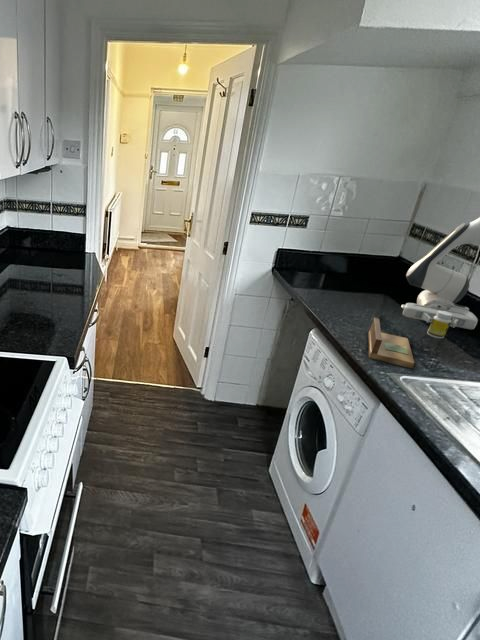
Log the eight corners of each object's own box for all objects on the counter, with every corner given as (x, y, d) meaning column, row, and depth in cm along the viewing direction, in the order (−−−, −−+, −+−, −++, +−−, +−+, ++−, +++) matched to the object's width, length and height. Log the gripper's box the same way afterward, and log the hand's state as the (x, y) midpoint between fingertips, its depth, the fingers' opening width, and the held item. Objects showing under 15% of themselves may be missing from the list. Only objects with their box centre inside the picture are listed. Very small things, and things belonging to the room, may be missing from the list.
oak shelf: (405, 343, 149) (412, 325, 146) (412, 368, 131) (420, 349, 129) (367, 334, 154) (373, 317, 152) (368, 357, 137) (375, 339, 134)
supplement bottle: (444, 340, 138) (455, 317, 134) (427, 336, 140) (437, 313, 136) (442, 334, 141) (452, 312, 138) (425, 331, 143) (435, 308, 140)
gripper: (403, 296, 152) (407, 307, 141) (474, 308, 143) (484, 321, 132) (398, 312, 155) (401, 324, 144) (467, 325, 146) (476, 339, 134)
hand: (441, 323), depth 138 cm, fingers closed on supplement bottle, 5 cm apart
